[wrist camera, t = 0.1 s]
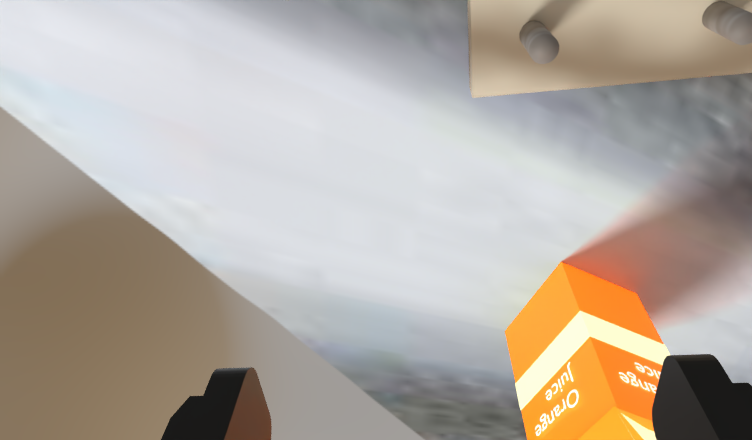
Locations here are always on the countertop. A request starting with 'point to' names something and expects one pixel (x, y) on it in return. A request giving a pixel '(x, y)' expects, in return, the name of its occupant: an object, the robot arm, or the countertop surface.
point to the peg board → (603, 42)
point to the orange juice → (585, 360)
